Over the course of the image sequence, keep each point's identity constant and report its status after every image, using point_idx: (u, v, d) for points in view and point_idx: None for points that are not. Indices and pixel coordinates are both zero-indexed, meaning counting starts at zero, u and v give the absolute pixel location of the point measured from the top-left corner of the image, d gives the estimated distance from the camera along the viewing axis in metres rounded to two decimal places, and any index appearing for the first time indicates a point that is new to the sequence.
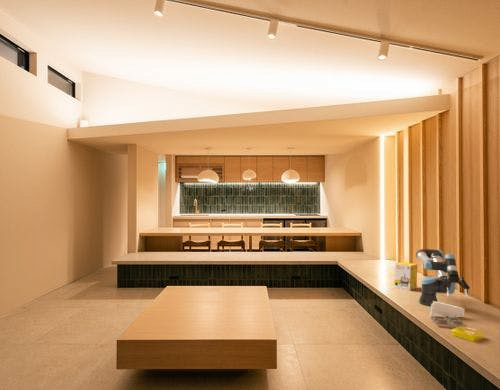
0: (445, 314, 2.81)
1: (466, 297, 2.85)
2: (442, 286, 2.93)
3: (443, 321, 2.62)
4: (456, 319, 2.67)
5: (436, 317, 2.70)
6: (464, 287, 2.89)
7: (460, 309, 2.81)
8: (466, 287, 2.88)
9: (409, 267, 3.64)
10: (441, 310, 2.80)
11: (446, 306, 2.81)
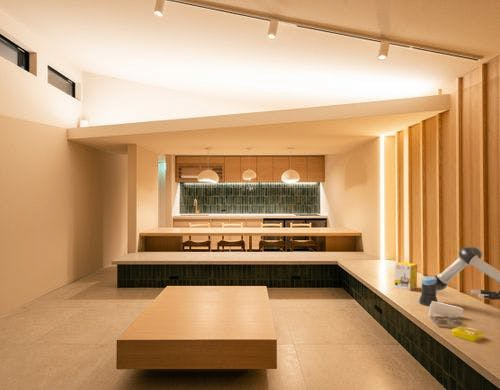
0: (443, 314, 2.81)
1: (471, 290, 2.85)
2: (491, 298, 2.67)
3: (443, 321, 2.62)
4: (456, 319, 2.67)
5: (436, 317, 2.70)
6: (482, 293, 2.83)
7: (459, 309, 2.81)
8: (481, 293, 2.84)
9: (409, 267, 3.64)
10: (440, 310, 2.80)
11: (445, 306, 2.81)
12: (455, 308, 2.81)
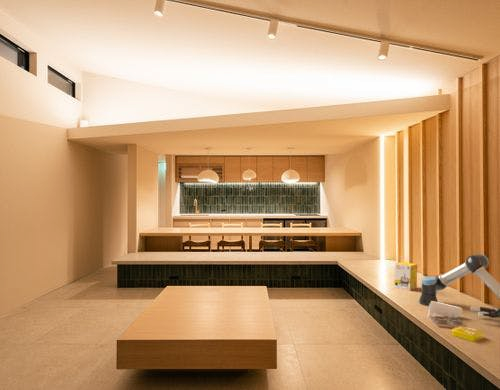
0: (443, 314, 2.81)
1: (471, 307, 2.85)
2: (491, 316, 2.67)
3: (443, 321, 2.62)
4: (456, 319, 2.67)
5: (436, 317, 2.70)
6: (482, 310, 2.83)
7: (458, 309, 2.81)
8: (481, 310, 2.84)
9: (409, 267, 3.64)
10: (439, 310, 2.80)
11: (444, 306, 2.81)
12: (454, 308, 2.81)
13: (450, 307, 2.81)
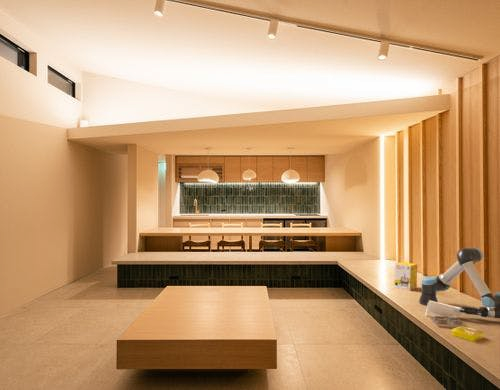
0: (441, 314, 2.81)
1: None
2: (467, 312, 2.74)
3: (443, 321, 2.62)
4: (456, 319, 2.67)
5: (436, 317, 2.70)
6: (464, 309, 2.82)
7: None
8: None
9: (409, 267, 3.64)
10: (437, 310, 2.80)
11: (442, 306, 2.80)
12: (453, 308, 2.80)
13: (449, 307, 2.80)
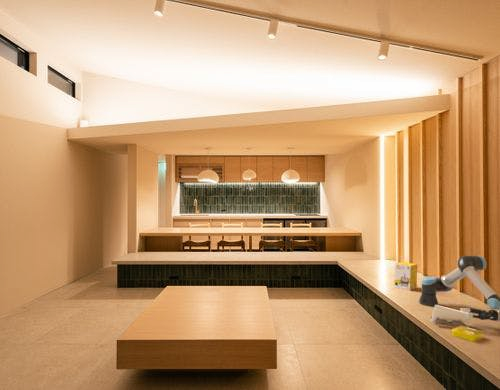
0: (448, 319, 2.63)
1: (460, 309, 2.70)
2: (481, 318, 2.52)
3: (443, 321, 2.62)
4: None
5: None
6: (472, 311, 2.68)
7: (465, 314, 2.62)
8: None
9: (409, 267, 3.64)
10: (443, 315, 2.63)
11: (449, 311, 2.63)
12: (461, 313, 2.62)
13: (456, 312, 2.63)
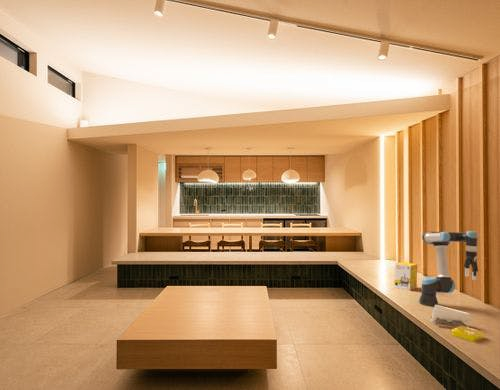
0: (448, 319, 2.63)
1: (466, 276, 2.86)
2: (476, 271, 2.69)
3: (443, 321, 2.62)
4: None
5: None
6: (468, 266, 2.85)
7: (465, 314, 2.62)
8: (468, 266, 2.86)
9: (409, 267, 3.64)
10: (443, 315, 2.63)
11: (449, 311, 2.63)
12: (461, 313, 2.62)
13: (456, 312, 2.63)
